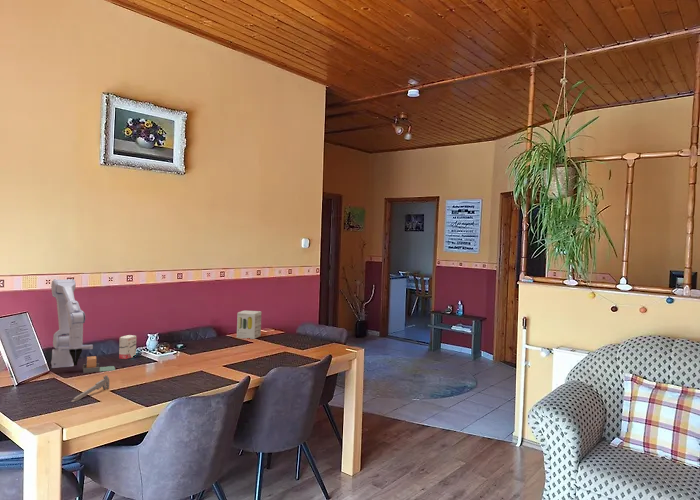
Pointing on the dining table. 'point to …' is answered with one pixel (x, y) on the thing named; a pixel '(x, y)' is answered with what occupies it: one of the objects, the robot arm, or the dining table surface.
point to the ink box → (127, 346)
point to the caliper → (94, 388)
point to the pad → (107, 368)
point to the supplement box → (249, 324)
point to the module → (91, 362)
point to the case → (87, 370)
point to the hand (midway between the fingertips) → (75, 364)
